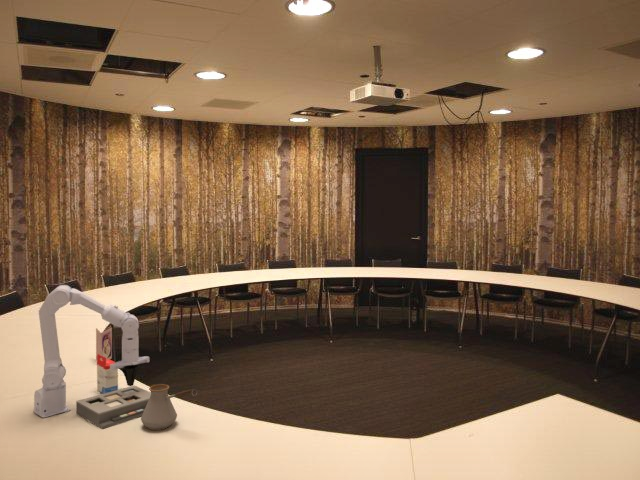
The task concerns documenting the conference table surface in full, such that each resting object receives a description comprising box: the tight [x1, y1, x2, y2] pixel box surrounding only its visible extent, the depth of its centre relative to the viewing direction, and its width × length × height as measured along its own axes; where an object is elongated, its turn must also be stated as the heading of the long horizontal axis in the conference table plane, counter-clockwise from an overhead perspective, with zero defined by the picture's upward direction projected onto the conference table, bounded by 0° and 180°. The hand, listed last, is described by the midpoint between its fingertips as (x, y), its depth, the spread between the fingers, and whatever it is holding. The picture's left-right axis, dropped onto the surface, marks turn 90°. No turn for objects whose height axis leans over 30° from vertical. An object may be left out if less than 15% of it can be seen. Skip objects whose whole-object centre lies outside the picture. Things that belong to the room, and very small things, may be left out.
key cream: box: [106, 401, 121, 407], centre depth 176 cm, size 4×4×2 cm
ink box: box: [96, 354, 119, 394], centre depth 199 cm, size 8×5×15 cm, turn 47°
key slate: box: [121, 390, 136, 400], centre depth 187 cm, size 4×4×2 cm
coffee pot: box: [140, 383, 198, 431], centre depth 167 cm, size 21×12×15 cm, turn 62°
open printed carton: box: [95, 327, 113, 361], centre depth 238 cm, size 11×7×15 cm, turn 179°
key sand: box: [106, 395, 121, 404], centre depth 182 cm, size 4×4×2 cm
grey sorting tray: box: [75, 384, 151, 430], centre depth 180 cm, size 22×18×4 cm
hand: (130, 385), depth 187 cm, fingers closed
